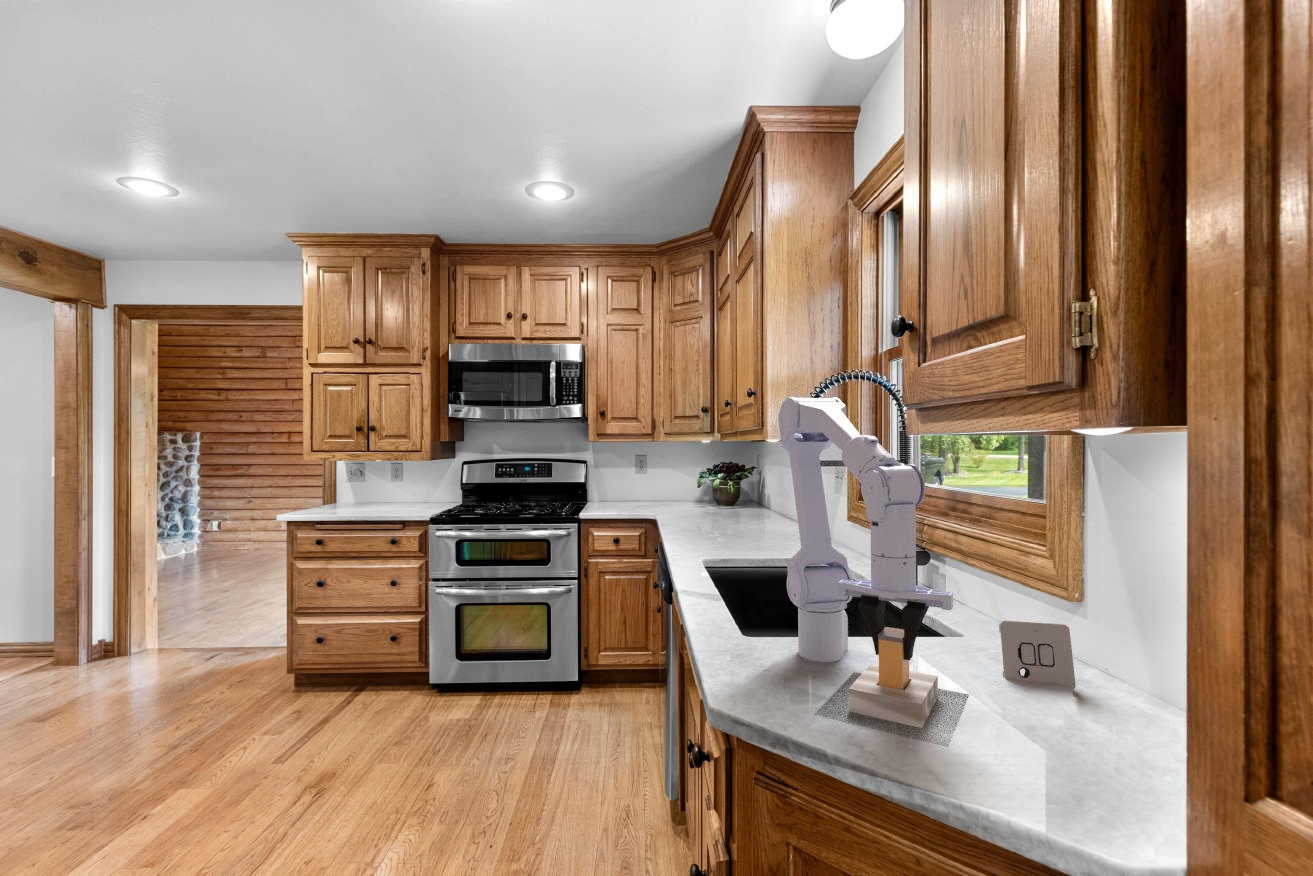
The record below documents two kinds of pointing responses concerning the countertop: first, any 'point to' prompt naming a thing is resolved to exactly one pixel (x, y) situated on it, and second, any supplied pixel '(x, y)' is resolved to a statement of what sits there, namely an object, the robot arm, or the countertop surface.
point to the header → (896, 702)
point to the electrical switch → (1037, 652)
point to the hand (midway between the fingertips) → (893, 655)
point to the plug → (892, 659)
